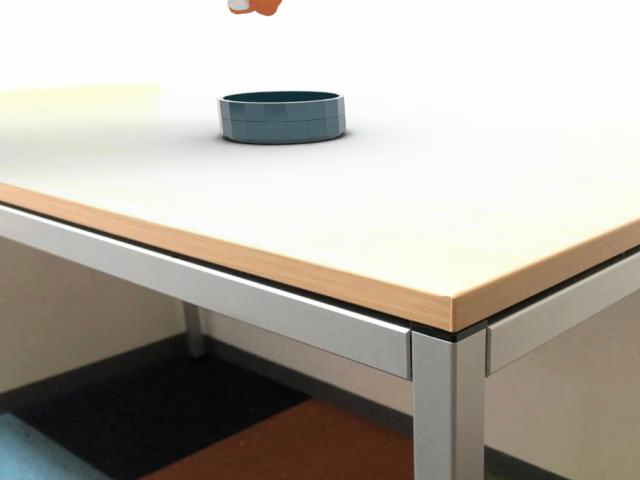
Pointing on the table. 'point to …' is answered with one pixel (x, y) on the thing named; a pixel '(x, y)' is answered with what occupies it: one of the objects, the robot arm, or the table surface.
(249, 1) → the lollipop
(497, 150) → the table surface
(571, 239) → the table surface
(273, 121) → the bowl
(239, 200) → the table surface
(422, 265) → the table surface
